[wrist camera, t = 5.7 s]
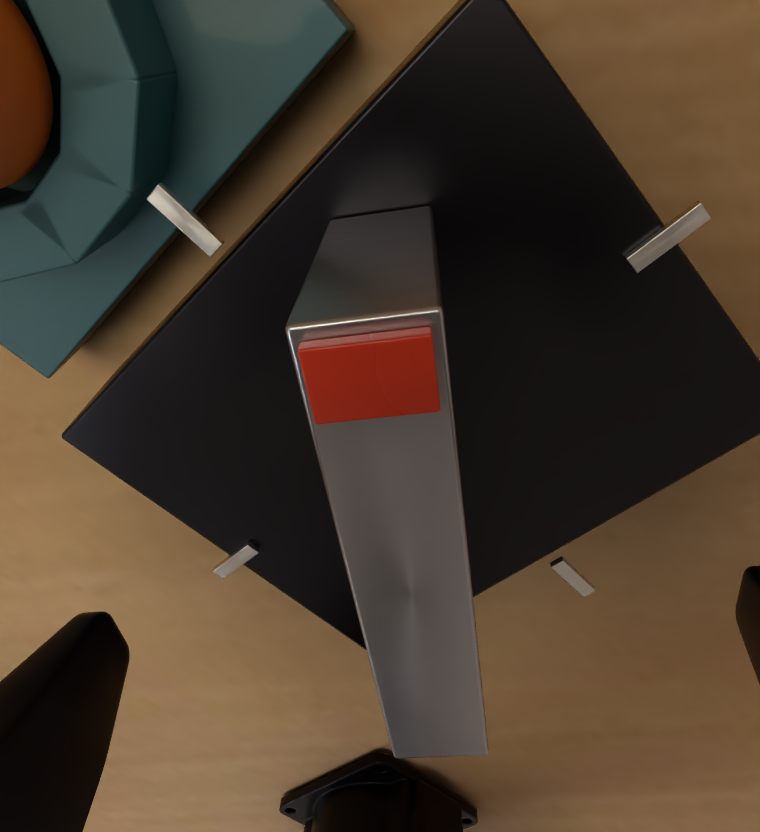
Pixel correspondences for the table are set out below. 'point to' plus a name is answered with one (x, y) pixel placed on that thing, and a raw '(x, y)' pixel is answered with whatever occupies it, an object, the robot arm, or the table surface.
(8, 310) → the control block
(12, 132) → the button
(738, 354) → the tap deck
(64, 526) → the table surface
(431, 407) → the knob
